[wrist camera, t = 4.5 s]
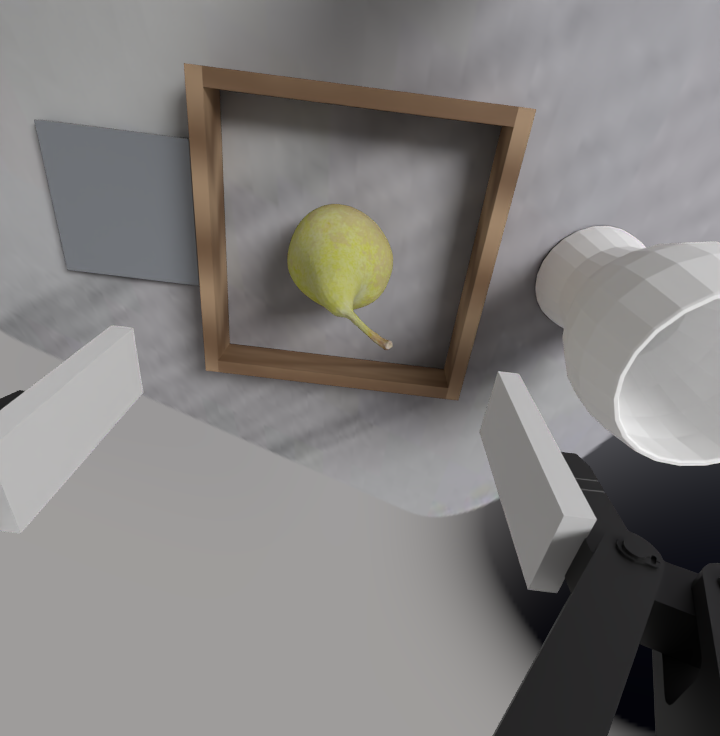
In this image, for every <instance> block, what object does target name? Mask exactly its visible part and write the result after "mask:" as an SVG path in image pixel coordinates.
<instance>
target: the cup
mask: <svg viewBox="0 0 720 736" xmlns="http://www.w3.org/2000/svg"><path fill="white" fill-rule="evenodd" d="M535 290H536V297H537V302H538V304H539V306H540V308H541V310H542V311H543V312H544V313H545V314H546V315H547V316H548V318H549V319H551V320H552V321H553V322H554V323H556V324H557V325H559V326H560V327H562V328H564V331H563V337H562V338H563V346H564V355H565V362H566V370H567V376H568V378H569V381H570V383H571V385H572V387H573V389H574V391H575V393H576V394H577V396H578V397H579V399H580V400H581V402H582V403H583V405H584V406H585V408H586V409H587V410H588V412H589V413H590V415H592V416H593V417H594V418H595V419H596V420H597V421H598V422H599V423H600V424H601V425H602V426H603V427H604V428H605V429H606V430H608V431H609V432H610V433H612V434H613V435H614V436H616V437H617V438H619V439H620V440H621V441H622V442H624V443H625V444H626V445H628V446H629V447H630V448H632V449H633V450H634V451H636V452H638V453H640V454H642V455H644V456H646V457H648V458H650V459H652V460H654V461H659V462H664V463H669V464H674V465H679V466H683V465H684V466H687V465H688V466H694V465H709V464H715V463H720V243H719V242H692V243H670V244H657V245H653V246H650V247H645V246H644V245H643V244H642V243H641V242H640V241H639V240H638V239H636V238H635V237H634V236H632V235H631V234H629V233H627V232H626V231H624V230H622V229H619V228H615V227H611V226H594V227H590V228H586V229H583V230H580V231H577V232H575V233H573V234H572V235H570V236H568V237H566V238H564V239H563V240H562V241H561V242H560V243H559V244H557V245H556V246H555V247H554V248H553V249H552V250H551V251H550V253H549V254H548V255H547V257H546V258H545V259H544V261H543V262H542V265H541V267H540V269H539V272H538V274H537V279H536V286H535Z"/></svg>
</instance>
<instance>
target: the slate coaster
mask: <svg viewBox="0 0 720 736" xmlns="http://www.w3.org/2000/svg"><path fill="white" fill-rule="evenodd" d="M34 122H35V126H36V131H37V135H38V140H39V144H40V149H41V153H42V158H43V162H44V167H45V171H46V176H47V180H48V185H49V189H50V194H51V198H52V203H53V207H54V212H55V216H56V221H57V225H58V230H59V234H60V238H61V243H62V247H63V252H64V256H65V261H66V265H67V270H74V271H82V272H90V273H99V274H107V275H115V276H123V277H131V278H140V279H148V280H156V281H164V282H172V283H181V284H189V285H197V286H199V285H200V282H199V268H198V254H197V240H196V226H195V212H194V198H193V184H192V170H191V156H190V142H189V138H181V137H173V136H165V135H157V134H150V133H142V132H134V131H126V130H118V129H110V128H102V127H95V126H87V125H79V124H71V123H63V122H55V121H47V120H34Z"/></svg>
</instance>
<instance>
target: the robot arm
mask: <svg viewBox="0 0 720 736" xmlns="http://www.w3.org/2000/svg"><path fill="white" fill-rule="evenodd" d="M142 394H143V387H142V381H141V375H140V369H139V362H138V356H137V350H136V343H135V337H134V331H133V328H130V327H122V326H113V325H111V326H110V327H109V328H107V329H106V330H105V331H103V332H102V333H101V334H99V335H98V336H97V337H95V338H94V339H93V340H92V341H90V342H89V343H88V344H86V345H85V346H84V347H82V348H81V349H80V350H78V351H77V352H76V353H75V354H73V355H72V356H71V357H69V358H68V359H67V360H65V361H64V362H63V363H61V364H60V365H59V366H57V368H55V369H54V370H52V371H51V372H50V373H49V374H47V375H46V376H44V377H43V378H42V379H41V380H39V381H38V382H37V383H35V384H34V385H33V386H32V387H30V388H29V389H28V390H26V391H21V390H19V391H17V392H15V393H12V394H10V395H8V396H5V397H3V398H1V399H0V531H5V532H15V533H21V532H22V531H23V530H24V529H25V528H26V527H27V526H28V524H29V523H30V522H31V521H32V520H33V519H34V518H35V516H36V515H37V514H38V513H39V512H40V511H41V510H42V508H43V507H44V506H45V505H46V504H47V502H48V501H49V500H50V499H51V498H52V497H53V496H54V495H55V493H56V492H57V491H58V490H59V489H60V488H61V487H62V485H63V484H64V483H65V482H66V481H67V480H68V478H69V477H70V476H71V475H72V474H73V473H74V472H75V470H76V469H77V468H78V467H79V466H80V465H81V464H82V462H83V461H84V460H85V459H86V458H87V457H88V456H89V454H90V453H91V452H92V451H93V450H94V449H95V448H96V446H97V445H98V444H99V443H100V442H101V441H102V439H103V438H104V437H105V436H106V435H107V434H108V433H109V431H110V430H111V429H112V428H113V427H114V425H116V423H117V422H118V421H119V420H120V419H121V418H122V417H123V415H124V414H125V413H126V412H127V411H128V410H129V409H130V407H131V406H132V405H133V404H134V403H135V402H136V400H137V399H138V398H139V397H140V396H141V395H142ZM480 435H481V438H482V442H483V445H484V448H485V451H486V455H487V458H488V461H489V464H490V468H491V471H492V474H493V477H494V481H495V484H496V487H497V490H498V494H499V497H500V500H501V503H502V507H503V510H504V513H505V516H506V520H507V523H508V526H509V529H510V533H511V536H512V539H513V542H514V545H515V548H516V552H517V555H518V558H519V562H520V565H521V568H522V571H523V575H524V578H525V581H526V584H527V588H528V590H536V591H545V592H554V593H557V592H558V590H559V588H560V586H561V585H562V583H563V581H564V579H566V581H567V584H568V587H569V589H570V592H571V594H570V596H569V598H568V600H567V601H566V603H565V605H564V607H563V608H562V610H561V612H560V614H559V616H558V617H557V620H556V621H555V623H554V625H553V627H552V629H551V630H550V632H549V634H548V636H547V638H546V640H545V642H544V644H543V645H542V647H541V649H540V651H539V652H538V654H537V656H536V658H535V660H534V661H533V663H532V665H531V667H530V669H529V671H528V672H527V674H526V676H525V678H524V680H523V681H522V683H521V685H520V687H519V689H518V690H517V692H516V694H515V696H514V698H513V700H512V701H511V703H510V705H509V707H508V709H507V710H506V713H505V714H504V716H503V718H502V720H501V721H500V723H499V725H498V727H497V729H496V730H495V732H494V734H493V736H607V735H608V732H609V730H610V727H611V724H612V721H613V718H614V715H615V712H616V709H617V707H618V704H619V701H620V698H621V695H622V692H623V689H624V686H625V683H626V681H627V678H628V675H629V672H630V669H631V666H632V663H633V660H634V657H635V655H636V652H637V649H638V646H639V644H641V645H644V646H646V647H649V648H651V649H652V654H653V655H652V656H653V679H654V703H655V729H656V736H720V563H710V564H708V565H707V566H705V567H704V568H703V569H702V570H701V572H700V573H699V574H697V573H695V572H692V571H689V570H686V569H684V568H681V567H678V566H675V565H672V564H670V563H667V562H665V561H663V559H662V557H661V555H660V553H659V552H658V551H657V550H656V549H655V548H654V547H653V546H652V544H650V543H649V542H647V541H646V540H645V539H643V538H642V537H640V536H638V535H636V534H634V533H632V532H629V531H628V530H627V528H626V527H625V525H624V523H623V522H622V520H621V518H620V516H619V515H618V513H617V512H616V510H615V508H614V507H613V505H612V503H611V501H610V500H609V498H608V496H607V495H606V493H604V490H603V488H602V486H601V484H600V483H599V482H597V478H596V476H595V475H594V473H593V471H592V469H591V468H590V466H589V465H588V464H587V463H586V462H584V461H583V460H582V459H581V458H580V457H579V456H578V455H577V454H574V453H565V452H561V451H560V449H559V448H558V446H557V444H556V442H555V440H554V438H553V436H552V434H551V433H550V431H549V429H548V427H547V425H546V423H545V421H544V419H543V418H542V416H541V414H540V412H539V410H538V408H537V406H536V404H535V403H534V401H533V399H532V397H531V395H530V393H529V391H528V389H527V388H526V386H525V384H524V382H523V380H522V378H521V376H520V374H518V373H509V372H501V371H498V373H497V376H496V380H495V383H494V386H493V389H492V393H491V396H490V399H489V402H488V406H487V409H486V412H485V415H484V419H483V422H482V425H481V428H480Z"/></svg>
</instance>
